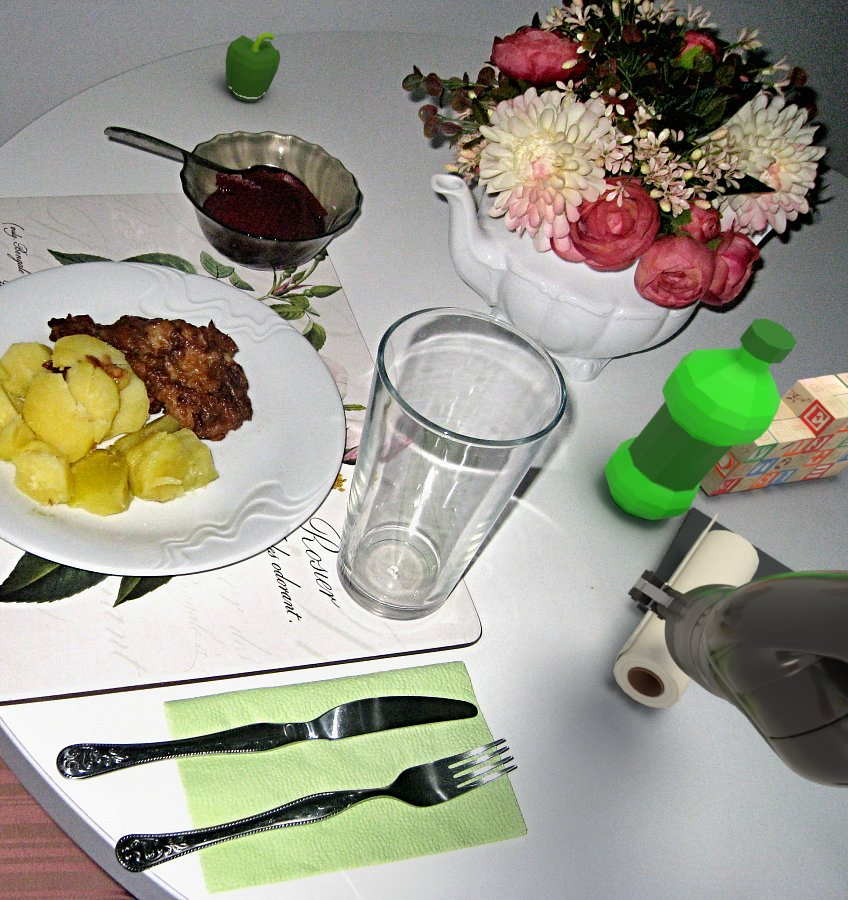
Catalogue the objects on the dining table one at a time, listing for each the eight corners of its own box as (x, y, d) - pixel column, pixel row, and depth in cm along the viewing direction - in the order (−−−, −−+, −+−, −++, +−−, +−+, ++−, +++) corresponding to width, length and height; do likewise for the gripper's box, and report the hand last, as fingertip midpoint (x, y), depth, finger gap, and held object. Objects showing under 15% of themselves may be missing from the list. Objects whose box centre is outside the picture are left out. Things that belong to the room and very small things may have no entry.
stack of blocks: (708, 498, 103) (775, 427, 94) (676, 457, 107) (738, 385, 98) (837, 475, 111) (911, 407, 102) (803, 437, 114) (871, 368, 105)
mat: (796, 576, 98) (799, 574, 98) (753, 687, 87) (756, 684, 86) (690, 509, 102) (693, 506, 101) (636, 607, 91) (639, 604, 90)
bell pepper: (219, 102, 141) (231, 39, 133) (220, 77, 146) (231, 15, 139) (271, 112, 142) (286, 50, 135) (270, 87, 148) (284, 26, 140)
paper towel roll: (647, 718, 83) (728, 585, 95) (694, 699, 78) (773, 562, 90) (589, 659, 84) (676, 536, 96) (632, 637, 79) (718, 510, 92)
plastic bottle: (642, 550, 96) (793, 386, 77) (572, 480, 101) (698, 310, 82) (695, 517, 101) (849, 357, 82) (626, 452, 106) (756, 286, 87)
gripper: (614, 625, 63) (593, 607, 80) (791, 749, 59) (731, 703, 76) (679, 539, 63) (644, 539, 79) (862, 659, 59) (786, 632, 75)
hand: (687, 620), depth 78 cm, fingers closed
